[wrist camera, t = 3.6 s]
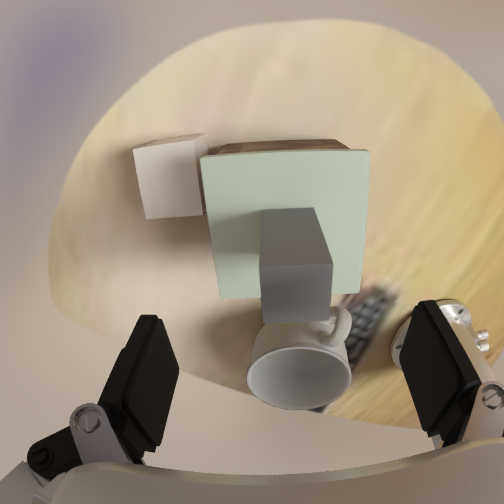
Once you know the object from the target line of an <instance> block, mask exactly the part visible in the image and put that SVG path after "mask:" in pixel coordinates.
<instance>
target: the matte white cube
mask: <svg viewBox="0 0 504 504" xmlns="http://www.w3.org/2000/svg"><path fill="white" fill-rule="evenodd" d="M133 155H134V161H135V167H136V173H137V178H138V183H139V189H140V194H141V199H142V204H143V209H144V213H145V218H146V220H147V219H159V218H171V217H185V216H199V215H204V213H205V211H206V202H205V194H204V187H203V179H202V172H201V164H200V158H201V157H202V156H207V155H209V150H208V142H207V133H202V134H194V135H186V136H179V137H172V138H165V139H159V140H154V141H151V142H149V143H146V144H144V145H142V146H139V147H137V148H134V149H133Z"/></svg>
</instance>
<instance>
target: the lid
mask: <svg viewBox="0 0 504 504" xmlns="http://www.w3.org/2000/svg"><path fill="white" fill-rule="evenodd" d="M200 164H201V172H202V179H203V187H204V194H205V202H206V209H207V216H208V223H209V230H210V236H211V243H212V250H213V256H214V263H215V269H216V275H217V281H218V287H219V293H220V299H226V298H261V303H262V316H263V323H289V322H310V321H327V320H329V314H330V303H331V295H332V294H349V293H359V289H360V282H361V274H362V265H363V256H364V246H365V236H366V224H367V210H368V192H369V166H370V151H368V150H366V149H300V150H274V151H256V152H242V153H229V154H218V155H207V156H202V157H201V158H200Z"/></svg>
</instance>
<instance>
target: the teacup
mask: <svg viewBox="0 0 504 504" xmlns="http://www.w3.org/2000/svg"><path fill="white" fill-rule="evenodd" d="M335 318H336V324H334V323H332V322H331V321H332V320H334V319H335ZM351 323H352V322H351V315H350V313H349V312H348V311H347V310H346V309H344V308H342V307H338V306H333V307H330V314H329V320H327V321H310V322H289V323H266V324H265V325H264V326H263V327H262V328H261V330H260V331H259V333H258V335H257V337H256V339H255V342H254V345H253V349H252V354H251V359H250V365H249V368H248V370H247V374H246V382H247V385H248V387H249V389H250V391H251V392H252V393H253V394H254V395H255V396H256V397H257V398H258V399H260V400H261V401H263V402H265V403H267V404H269V405H271V406H273V407H278V408H282V409H287V410H307V409H313V408H317V407H321V406H324V405H327V404H329V403H331V402H333V401H335V400H336V399H338V398H339V397H341V396H342V395H343V394H344V393H345V391H346V390H347V389H348V387H349V385H350V383H351V369H350V367H349V364H348V357H347V352H346V347H345V343H344V341H345V339H346V338H347V336H348V334H349V332H350V328H351Z"/></svg>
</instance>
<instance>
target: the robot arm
mask: <svg viewBox="0 0 504 504" xmlns="http://www.w3.org/2000/svg"><path fill="white" fill-rule="evenodd" d="M487 338H488V330H486V329H485V330H480V331H478V332H476V331H474V329H473V327H472V318H471V314H470V312H469V310H468V309H467V307H466V306H465V305H464V304H462V303H461V302H459V301H456V300H442V301H438V302H435V301H434V300H427V301H420V302H419V303H418V305H417V306H415V307H414V310H413V314H412V316H411V317H409V318H408V319H407V320H406V321H405V322H404V323H403V324H402V326H401V327H400V328H399V329H398V331H397V332H396V334H395V336H394V338H393V341H392V344H391V356H392V359H393V361H394V363H395V365H396V366H397V367H399V368H400V369H402V370H403V373H404V376H405V379H406V381H407V384H408V387H409V390H410V393H411V396H412V399H413V402H414V405H415V408H416V411H417V414H418V417H419V420H420V423H421V426H422V429H423V431H425V432H426V431H427V434H428V437H432V440H433V443H434V447H435V450H433V451H429V452H426V453H422V454H418V455H414V456H411V457H407V458H402V459H398V460H393V461H389V462H384V463H379V464H374V465H368V466H362V467H356V468H350V469H342V470H335V471H326V472H316V473H303V474H286V475H231V474H230V475H229V474H213V473H201V472H191V471H181V470H173V469H165V468H158V467H151V466H147V465H146V464H145V462H144V461H143V459H142V457H143V456H144V452H145V451H148V452H155V450H156V446H160V444H161V442H162V438H163V433H164V430H165V426H166V421H167V418H168V413H169V410H170V406H171V402H172V398H173V394H174V390H175V386H176V382H177V379H178V375H179V366H178V363H177V360H176V358H175V355H174V352H173V349H172V347H171V344H170V341H169V338H168V335H167V332H166V329H165V326H164V324H163V321H162V319H158V317H157V315H141V316H140V317H139V319H138V321H137V323H136V325H135V327H134V329H133V332H132V334H131V336H130V338H129V340H128V342H127V344H126V347H125V348H123V349H122V350H121V352H120V354H119V356H118V358H117V360H116V362H115V364H114V367H113V369H112V371H111V373H110V376H109V378H108V380H107V382H106V385H105V387H104V389H103V392H102V394H101V396H100V399H99V401H98V404H94V403H86V404H83V405H81V406H79V407H77V408H76V410H75V411H73V413H72V415H71V417H70V421H69V423H70V426H68V427H66V428H64V429H62V430H60V431H58V432H56V433H55V434H52V435H50V436H48V437H46V438H44V439H42V440H40V441H38V442H36V443H35V444H33V445H32V446H31V447H30V449H29V451H28V454H27V462H26V463H25V462H24V461H22V462H21V463H20V464H18V465H17V466H16V467H15V468H14V469H13V470H12V471H11V472H10V473H9V474H8V475H6V476H5V477H4V478H3V479H2V480H1V481H0V504H504V386H503V385H502V384H500V383H498V382H497V380H496V378H495V376H494V374H493V372H492V370H491V369H490V367H489V365H488V363H487V361H486V360H485V358H484V356H483V354H482V353H483V352H487V350H488V348H489V343H488V341H487V340H486V339H487ZM483 339H484V340H483ZM478 340H479V341H478Z"/></svg>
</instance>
